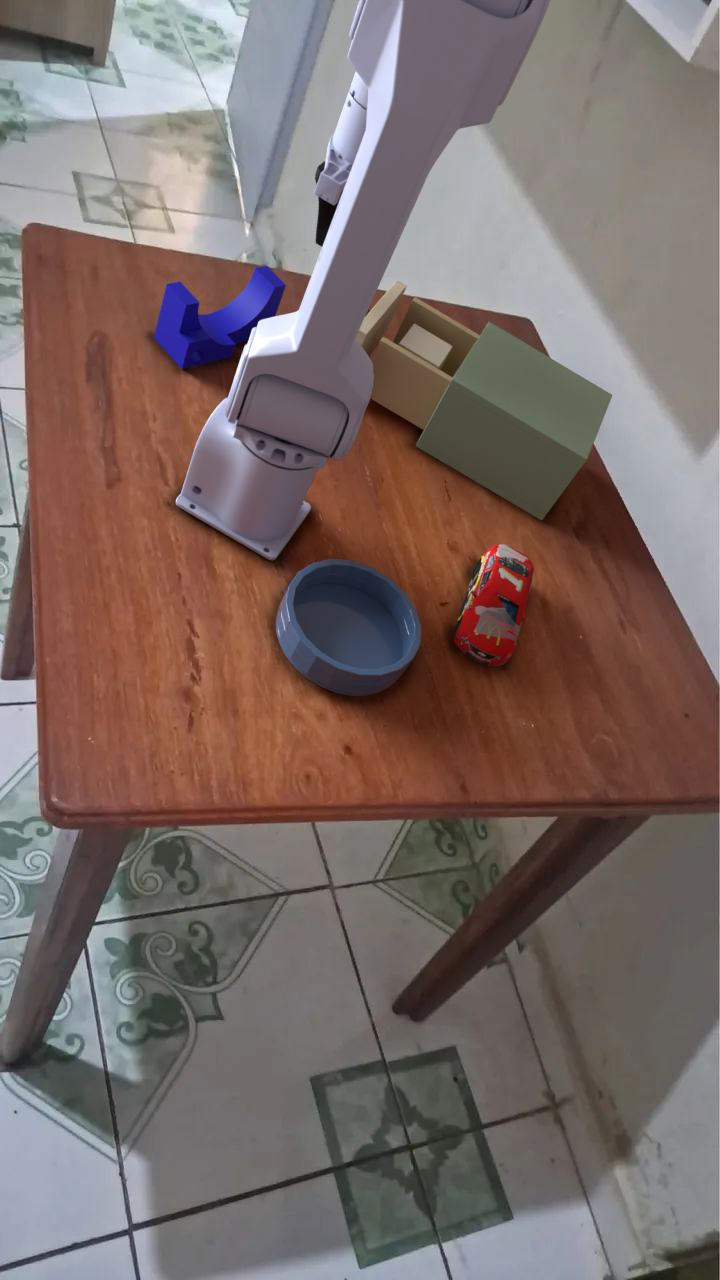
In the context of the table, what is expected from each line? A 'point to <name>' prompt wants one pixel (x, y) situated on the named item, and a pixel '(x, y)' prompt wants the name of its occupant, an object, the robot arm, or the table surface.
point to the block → (426, 346)
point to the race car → (494, 606)
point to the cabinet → (516, 421)
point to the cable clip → (214, 320)
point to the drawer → (411, 357)
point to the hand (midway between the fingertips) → (328, 244)
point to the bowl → (347, 627)
